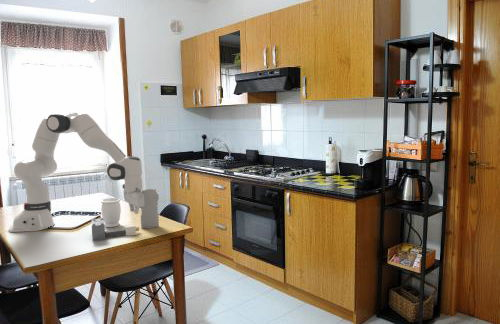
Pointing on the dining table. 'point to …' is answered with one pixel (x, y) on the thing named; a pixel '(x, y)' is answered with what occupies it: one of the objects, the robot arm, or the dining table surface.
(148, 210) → the tall pale column
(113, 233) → the plug
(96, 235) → the block
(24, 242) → the dining table surface
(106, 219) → the jar
